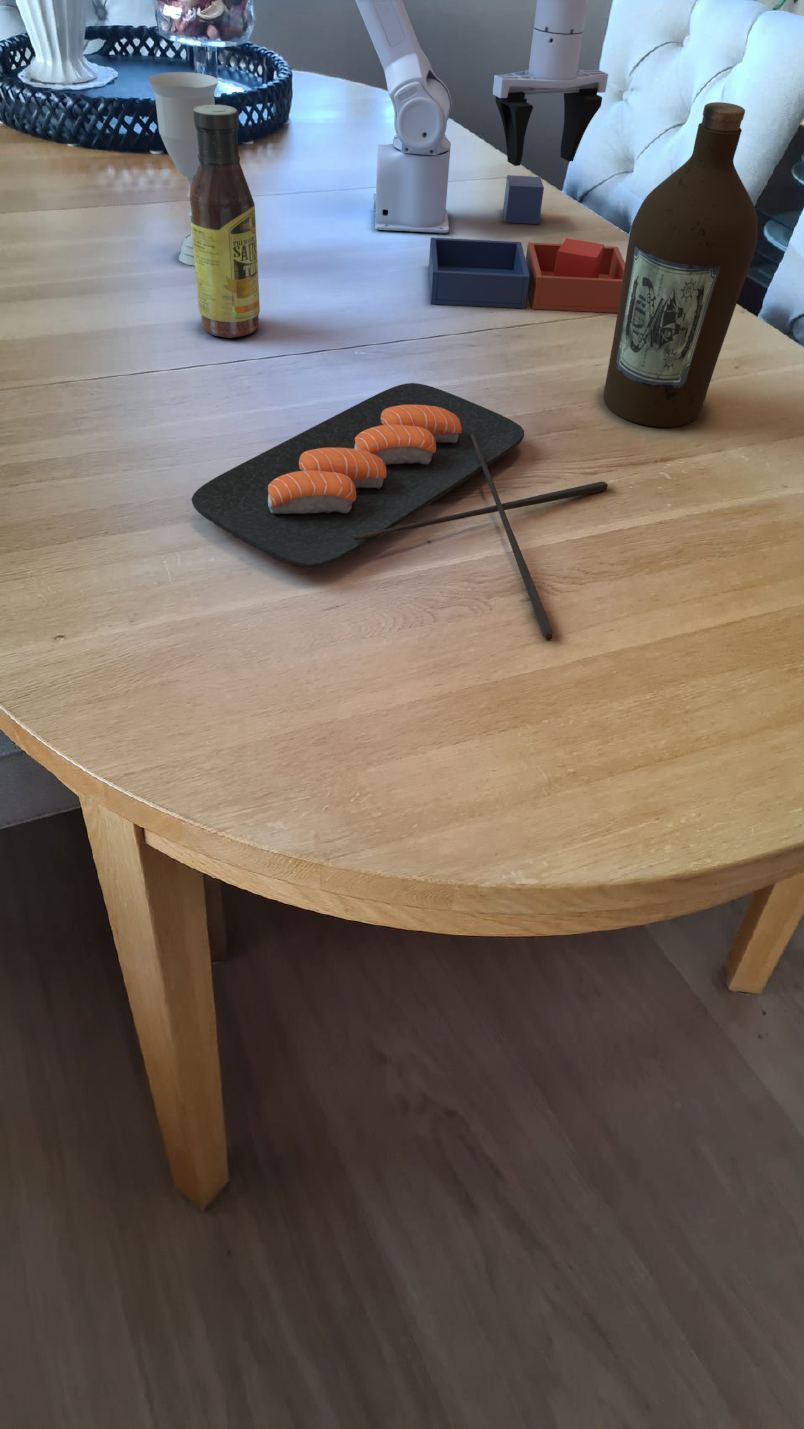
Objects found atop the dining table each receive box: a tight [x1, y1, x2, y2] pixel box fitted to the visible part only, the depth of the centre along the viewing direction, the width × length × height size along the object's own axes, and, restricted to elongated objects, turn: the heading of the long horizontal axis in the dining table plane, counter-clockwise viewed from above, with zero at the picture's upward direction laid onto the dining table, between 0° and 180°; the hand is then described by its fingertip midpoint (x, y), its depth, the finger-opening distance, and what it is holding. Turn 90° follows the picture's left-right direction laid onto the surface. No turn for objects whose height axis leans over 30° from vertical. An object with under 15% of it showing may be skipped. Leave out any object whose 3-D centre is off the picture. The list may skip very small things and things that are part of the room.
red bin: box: [525, 242, 625, 314], centre depth 111 cm, size 11×11×4 cm
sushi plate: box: [191, 382, 609, 640], centre depth 76 cm, size 29×30×4 cm
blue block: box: [502, 174, 545, 225], centre depth 128 cm, size 4×4×4 cm
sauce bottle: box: [189, 104, 261, 339], centre depth 94 cm, size 7×6×20 cm
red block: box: [554, 237, 605, 278], centre depth 110 cm, size 4×4×4 cm
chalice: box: [147, 71, 219, 267], centre depth 108 cm, size 7×7×18 cm
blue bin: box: [428, 237, 530, 309], centre depth 110 cm, size 11×11×4 cm
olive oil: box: [603, 101, 759, 428], centre depth 84 cm, size 11×11×25 cm
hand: (540, 161), depth 120 cm, fingers open, 7 cm apart
